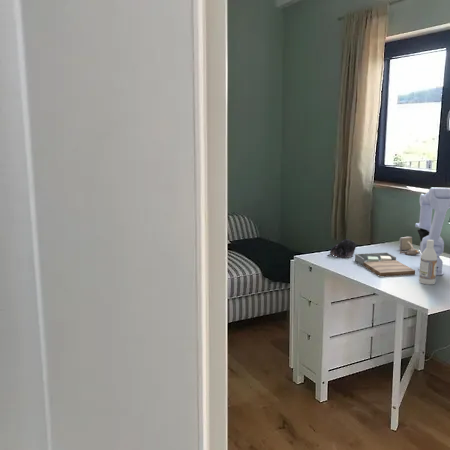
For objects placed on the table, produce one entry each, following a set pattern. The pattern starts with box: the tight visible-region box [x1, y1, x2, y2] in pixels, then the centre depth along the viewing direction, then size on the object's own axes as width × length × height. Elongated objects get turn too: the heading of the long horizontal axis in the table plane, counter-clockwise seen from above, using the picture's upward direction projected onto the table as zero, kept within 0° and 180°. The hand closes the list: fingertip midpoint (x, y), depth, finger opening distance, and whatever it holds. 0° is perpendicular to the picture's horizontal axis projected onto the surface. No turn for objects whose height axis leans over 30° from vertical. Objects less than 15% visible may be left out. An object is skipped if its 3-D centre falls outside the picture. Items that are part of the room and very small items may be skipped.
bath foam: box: [418, 240, 437, 286], centre depth 233 cm, size 7×7×20 cm
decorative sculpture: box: [398, 236, 421, 256], centre depth 286 cm, size 16×10×7 cm, turn 178°
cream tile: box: [380, 256, 392, 261], centre depth 266 cm, size 5×5×2 cm
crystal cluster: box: [329, 238, 357, 258], centre depth 280 cm, size 13×14×10 cm
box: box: [354, 251, 397, 266], centre depth 267 cm, size 10×18×4 cm, turn 101°
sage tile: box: [367, 256, 379, 262], centre depth 265 cm, size 5×5×2 cm
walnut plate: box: [362, 259, 416, 277], centre depth 253 cm, size 18×18×2 cm
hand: (423, 243), depth 263 cm, fingers closed
